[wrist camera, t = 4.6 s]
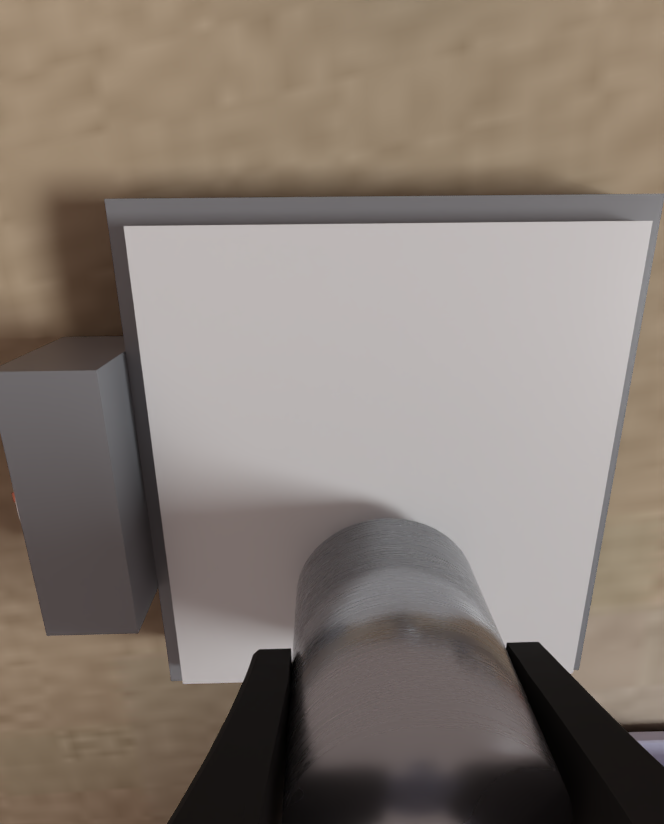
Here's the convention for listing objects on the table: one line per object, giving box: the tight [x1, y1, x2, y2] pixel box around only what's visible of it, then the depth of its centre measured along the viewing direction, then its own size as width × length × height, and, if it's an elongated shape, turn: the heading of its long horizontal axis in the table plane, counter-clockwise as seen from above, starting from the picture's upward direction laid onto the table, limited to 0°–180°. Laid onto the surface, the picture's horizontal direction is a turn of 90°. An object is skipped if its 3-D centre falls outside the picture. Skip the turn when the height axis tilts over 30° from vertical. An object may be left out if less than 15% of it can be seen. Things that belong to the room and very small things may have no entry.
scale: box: [0, 194, 664, 684], centre depth 13 cm, size 12×13×3 cm
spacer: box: [281, 518, 573, 824], centre depth 10 cm, size 4×4×5 cm
